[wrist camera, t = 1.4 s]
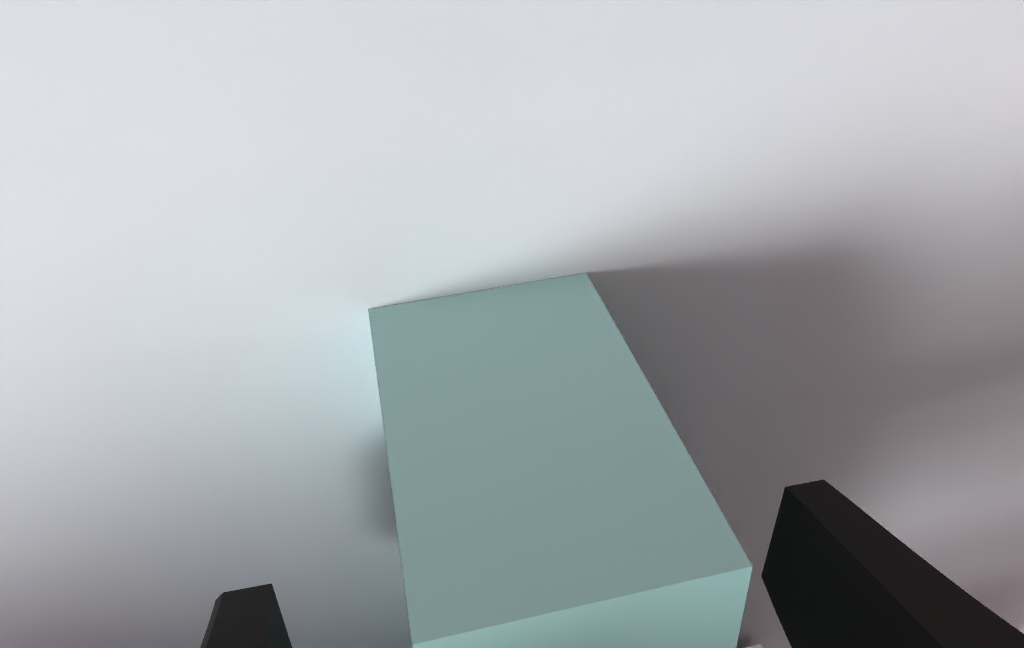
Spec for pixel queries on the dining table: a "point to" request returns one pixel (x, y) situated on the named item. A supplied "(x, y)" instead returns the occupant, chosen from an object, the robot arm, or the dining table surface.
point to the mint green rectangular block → (545, 480)
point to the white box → (755, 646)
